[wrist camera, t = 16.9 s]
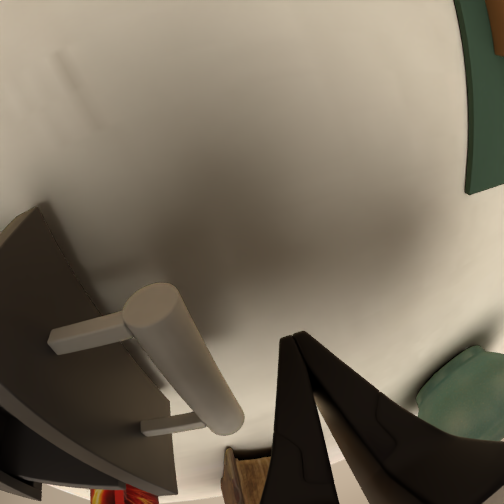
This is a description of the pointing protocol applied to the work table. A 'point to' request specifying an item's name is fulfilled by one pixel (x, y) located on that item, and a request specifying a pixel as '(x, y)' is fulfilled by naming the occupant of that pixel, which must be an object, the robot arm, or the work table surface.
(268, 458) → the book
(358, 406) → the robot arm
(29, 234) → the drawer
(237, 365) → the work table surface
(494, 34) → the box
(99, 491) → the mug
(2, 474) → the dark grey box
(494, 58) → the front mat
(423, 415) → the flower pot
